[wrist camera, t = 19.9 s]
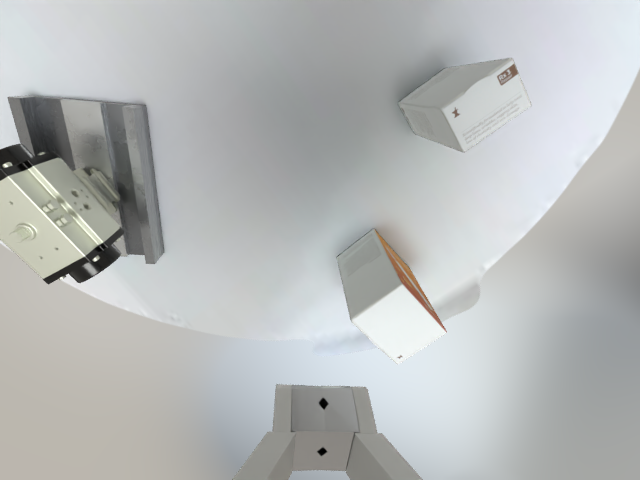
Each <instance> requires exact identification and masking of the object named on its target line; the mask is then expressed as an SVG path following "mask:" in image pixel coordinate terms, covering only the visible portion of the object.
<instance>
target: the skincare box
mask: <svg viewBox="0 0 640 480" xmlns="http://www.w3.org/2000/svg"><path fill="white" fill-rule="evenodd" d="M398 105H399V107H400V109H401V111H402V112H403V114H404V116H405V118H406V120H407V121H408V123H409V125H410V127H411V128H412V130H413V132H414V133H415V134H416V135H419V136H421V137H424V138H427V139H429V140H432V141H434V142H437V143H440V144H442V145H445V146H448V147H450V148H453V149H456V150H458V151H461V152H466V151H467V150H469V149H470V148H472V147H473V146H474V145H476V144H477V143H479V142H480V141H482V140H483V139H484V138H486V137H487V136H489V135H490V134H492V133H493V132H495V131H496V130H497V129H499V128H500V127H502V126H503V125H505V124H506V123H507V122H509V121H510V120H512V119H513V118H515V117H516V116H518V115H519V114H521V113H522V112H523V111H525V110H526V109H528V108H529V107H531V106H532V105H531V102H530V100H529V97H528V95H527V93H526V90H525V88H524V85H523V83H522V80H521V78H520V76H519V73H518V71H517V68H516V66H515V63H514V60H513V59H512V58H506V59H500V60H493V61H487V62H481V63H474V64H468V65H462V66H455V67H449V68H444V69H443V70H442V71H440V72H439V73H438V74H436V75H435V76H434V77H432V78H431V79H429V80H428V81H427V82H425V83H424V84H423V85H421V86H420V87H419V88H417V89H416V90H414V91H413V92H412V93H410V94H409V95H408V96H406V97H405V98H404V99H402V100H401V101H400V102H398Z"/></svg>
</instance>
